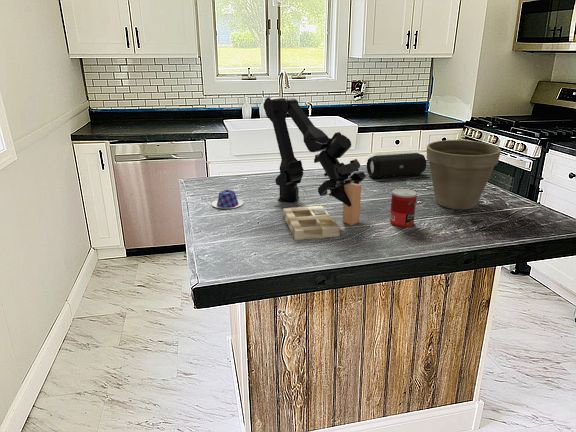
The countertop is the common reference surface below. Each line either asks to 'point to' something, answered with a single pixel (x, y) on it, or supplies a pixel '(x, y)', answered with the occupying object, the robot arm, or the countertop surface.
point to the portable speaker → (396, 165)
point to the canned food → (403, 207)
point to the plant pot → (460, 171)
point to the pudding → (227, 200)
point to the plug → (352, 212)
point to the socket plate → (310, 222)
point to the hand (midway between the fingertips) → (354, 204)
